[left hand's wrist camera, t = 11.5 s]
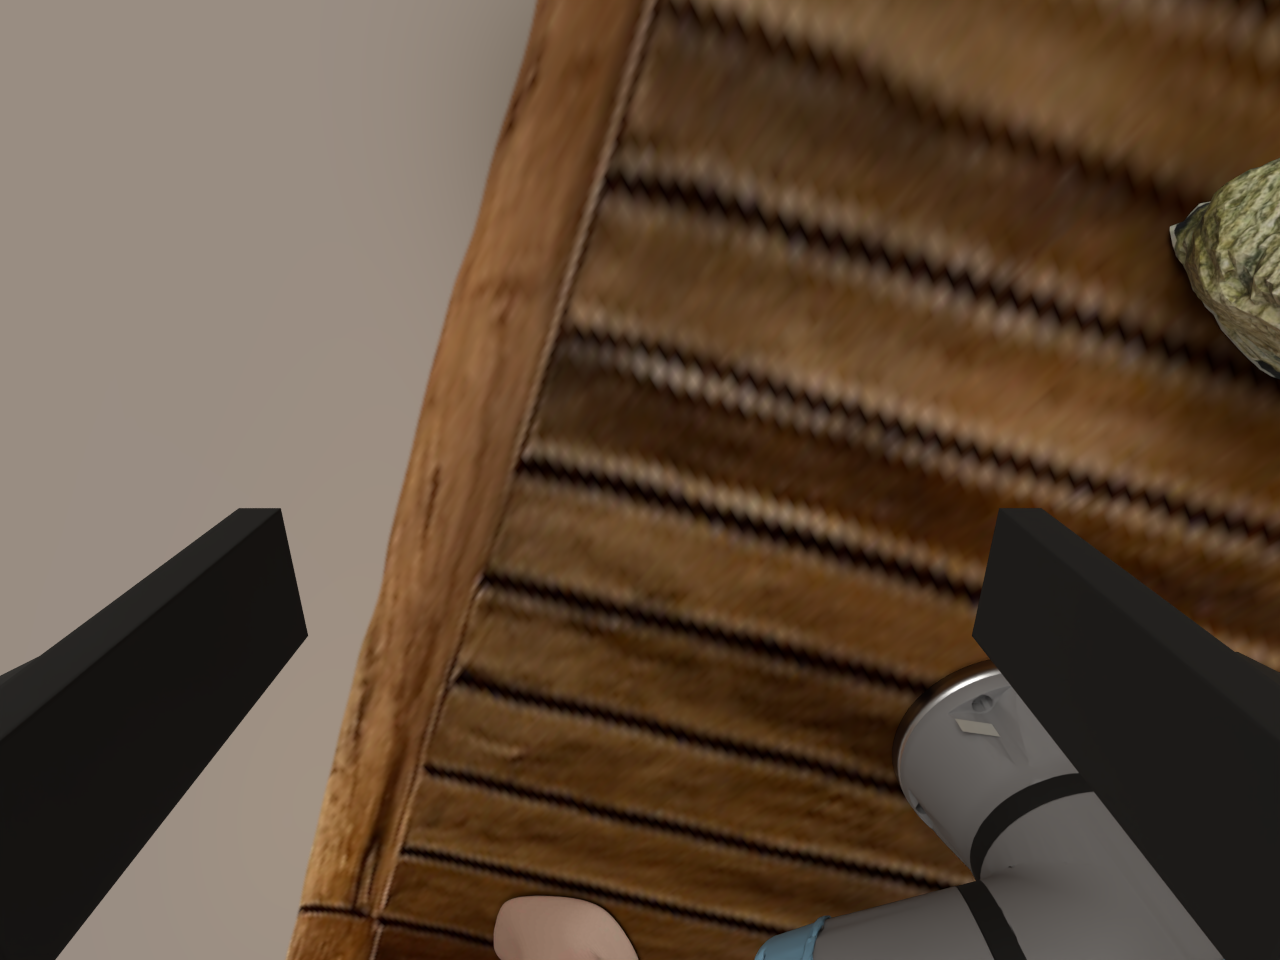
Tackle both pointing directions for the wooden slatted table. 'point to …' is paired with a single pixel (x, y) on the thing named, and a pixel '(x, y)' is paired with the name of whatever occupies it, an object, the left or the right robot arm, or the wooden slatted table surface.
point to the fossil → (1239, 261)
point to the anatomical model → (558, 931)
